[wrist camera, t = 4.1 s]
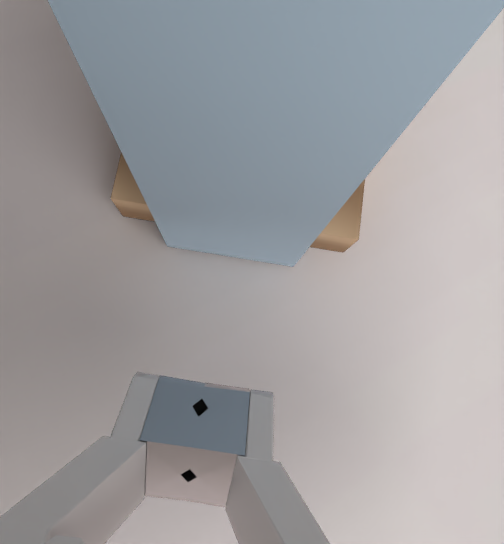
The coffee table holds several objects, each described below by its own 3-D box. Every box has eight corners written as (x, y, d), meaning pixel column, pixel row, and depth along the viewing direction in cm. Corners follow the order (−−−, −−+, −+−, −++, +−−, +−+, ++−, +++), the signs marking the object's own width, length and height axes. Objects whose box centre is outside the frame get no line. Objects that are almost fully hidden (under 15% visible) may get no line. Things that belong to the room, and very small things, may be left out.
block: (293, 266, 17) (580, -86, 3) (167, 246, 17) (-57, -214, 3) (308, 151, 18) (579, -481, 4) (189, 130, 18) (90, -598, 4)
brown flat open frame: (343, 252, 18) (367, 231, 15) (123, 216, 17) (103, 187, 14) (381, -93, 21) (407, -165, 18) (198, -129, 21) (194, -209, 18)
